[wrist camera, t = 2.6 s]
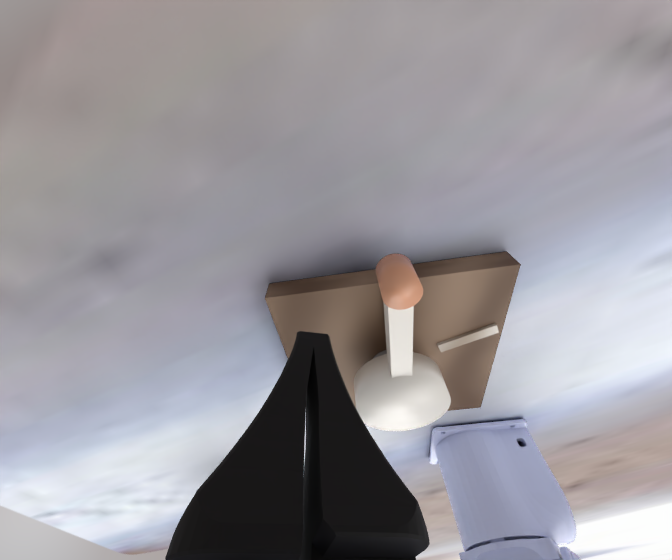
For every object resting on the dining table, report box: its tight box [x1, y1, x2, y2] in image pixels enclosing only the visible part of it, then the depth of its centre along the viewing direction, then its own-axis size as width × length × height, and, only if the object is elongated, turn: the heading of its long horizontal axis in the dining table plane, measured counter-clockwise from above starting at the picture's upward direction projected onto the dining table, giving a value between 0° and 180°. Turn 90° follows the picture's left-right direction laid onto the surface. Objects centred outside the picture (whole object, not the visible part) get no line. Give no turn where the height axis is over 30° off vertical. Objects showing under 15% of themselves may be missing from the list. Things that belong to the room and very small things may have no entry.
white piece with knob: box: [354, 254, 451, 431], centre depth 16 cm, size 13×6×2 cm, turn 8°
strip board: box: [265, 252, 521, 411], centre depth 21 cm, size 15×15×3 cm
